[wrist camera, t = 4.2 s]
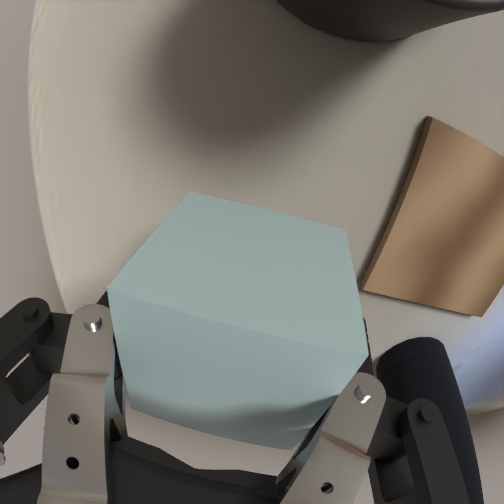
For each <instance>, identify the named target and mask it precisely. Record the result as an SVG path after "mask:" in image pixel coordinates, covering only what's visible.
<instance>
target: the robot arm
mask: <svg viewBox="0 0 504 504" xmlns="http://www.w3.org/2000/svg"><path fill="white" fill-rule="evenodd" d="M363 321H364V327H365V333H366V339H367V346H368V353H369V355H368V357H367V358H366V360H365V361H364V362H363V364H362V365H361V366H360V368H359V369H358V371H357V372H356V373H355V375H354V376H353V377H352V379H351V380H350V381H349V383H348V384H347V385H346V387H345V388H344V389H343V390H342V392H341V393H340V394H339V395H338V396H337V397H336V399H335V400H334V401H333V402H332V404H331V406H330V407H329V408H328V409H327V410H326V412H325V413H324V414H323V415H322V416H321V418H320V419H319V420H318V421H317V422H316V423H315V425H314V426H313V427H311V429H310V430H309V431H308V432H307V433H306V435H305V436H304V438H303V440H302V441H301V443H300V445H299V446H298V448H297V450H296V451H295V453H294V455H293V456H292V458H291V459H290V461H289V462H288V464H287V465H286V466H285V467H284V469H283V470H282V471H281V472H280V474H279V475H278V476H272V475H266V474H259V473H254V472H248V471H243V470H204V469H195V468H193V467H191V466H189V465H187V464H186V463H184V462H182V461H180V460H178V459H176V458H175V457H173V456H172V455H170V454H168V453H166V452H165V451H163V450H161V449H160V448H158V447H155V446H152V445H149V444H146V443H144V442H141V441H138V440H136V439H133V438H131V437H128V434H127V428H126V422H125V380H124V376H123V372H122V368H121V363H120V359H119V354H118V350H117V345H116V340H115V335H114V329H113V324H112V318H111V312H110V306H109V300H108V293H107V291H106V292H105V293H104V295H103V296H102V297H101V298H100V300H99V301H98V302H97V304H89V305H85V306H83V307H81V308H79V309H78V310H76V311H75V313H74V314H61V313H53V312H51V311H50V308H49V305H48V304H47V302H46V301H44V300H43V299H40V298H28V299H25V300H23V301H22V302H20V303H18V304H17V305H16V306H15V307H13V308H12V309H11V310H10V311H9V312H8V313H6V314H5V315H4V316H3V317H1V318H0V466H2V465H4V464H5V460H6V459H5V455H4V447H3V445H4V443H5V442H6V441H7V440H8V439H9V437H10V436H11V435H12V434H13V433H14V432H15V430H16V429H17V428H18V427H19V426H20V425H21V424H22V422H23V421H24V420H25V419H26V418H27V417H28V416H29V414H30V413H31V412H32V411H33V410H34V409H35V408H36V407H37V405H38V404H39V403H40V402H41V401H42V400H43V399H44V398H45V397H46V395H47V394H48V400H47V409H46V416H45V426H44V437H43V438H44V439H43V453H42V454H43V455H42V463H41V464H38V465H36V466H34V467H31V468H28V469H26V470H24V471H21V472H18V473H15V474H13V475H10V476H7V477H5V478H1V479H0V504H352V503H353V501H354V499H355V497H356V495H357V493H358V491H359V489H360V486H361V484H362V482H363V480H364V477H365V475H366V472H367V470H368V473H369V478H370V483H371V488H372V493H373V498H374V503H375V504H470V502H469V498H468V494H467V490H466V487H465V483H464V480H463V476H462V473H461V470H460V466H459V463H458V460H457V457H456V454H455V451H454V448H453V445H452V442H451V439H450V436H449V433H448V431H447V428H446V425H445V422H444V420H443V417H442V414H441V412H440V410H439V408H438V407H437V406H436V405H435V404H434V403H433V402H432V401H430V400H428V399H425V398H418V399H415V400H413V401H412V402H411V403H410V404H409V405H407V404H405V403H402V402H400V401H398V400H395V399H393V398H391V397H389V396H387V395H386V392H385V389H384V387H383V385H382V383H381V382H380V381H379V380H378V379H377V378H375V377H374V375H373V368H372V360H371V353H370V347H369V343H368V334H367V328H366V322H365V319H364V317H363ZM26 354H29V356H28V357H27V358H26V359H25V360H24V361H23V362H22V363H21V364H20V365H19V366H18V367H17V368H16V369H15V370H14V371H13V372H12V373H11V374H10V375H9V376H8V377H7V378H6V376H7V374H8V372H9V371H10V370H11V369H12V368H13V367H14V366H15V365H16V364H17V363H18V362H19V361H20V360H21V359H22V358H24V357H25V356H26ZM407 456H408V459H407ZM408 460H409V462H408ZM409 464H410V466H409ZM410 468H411V470H410ZM411 471H412V474H411ZM412 475H413V478H412ZM413 479H414V482H413Z"/></svg>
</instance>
